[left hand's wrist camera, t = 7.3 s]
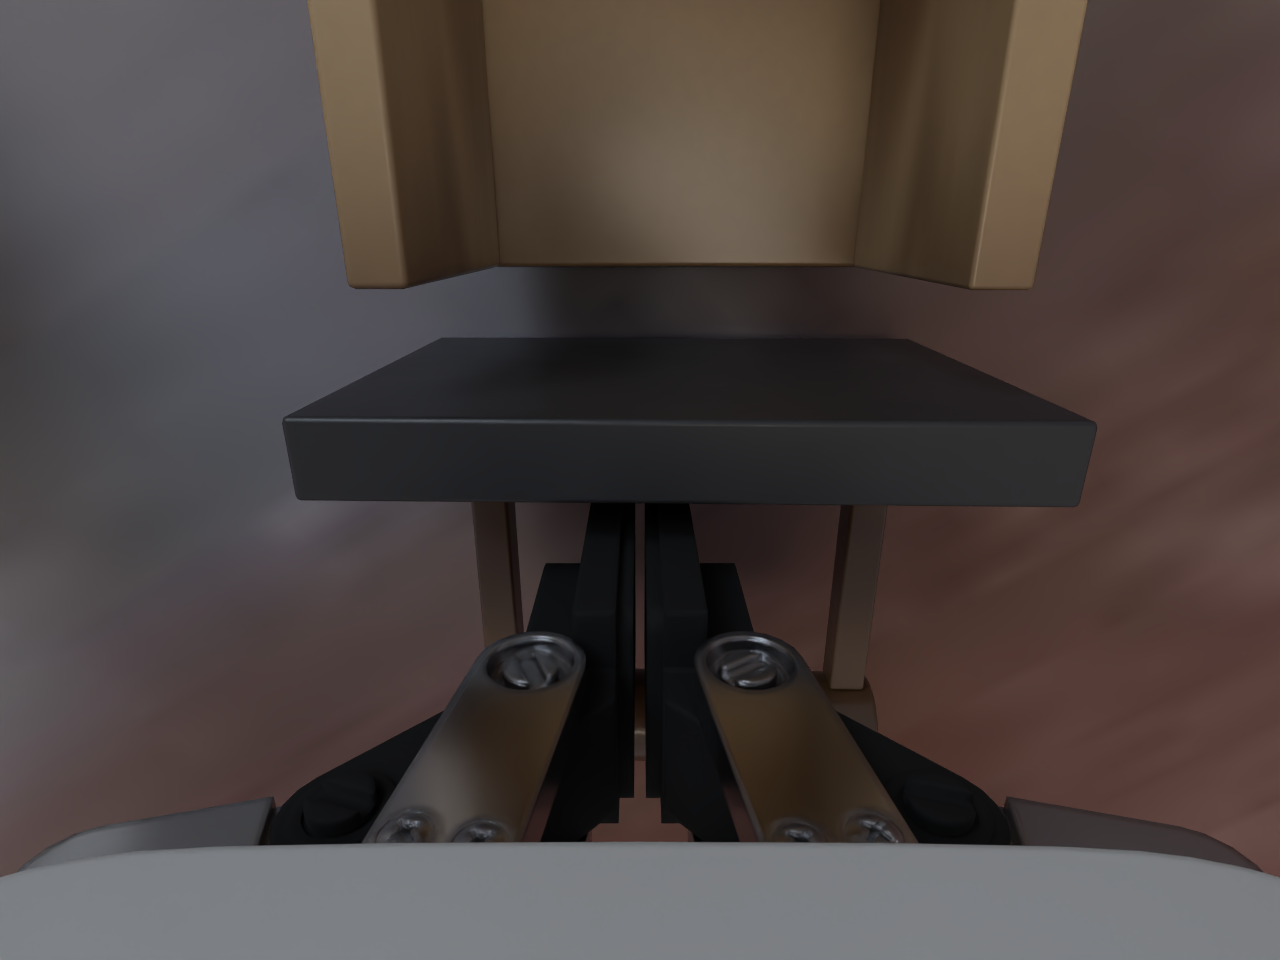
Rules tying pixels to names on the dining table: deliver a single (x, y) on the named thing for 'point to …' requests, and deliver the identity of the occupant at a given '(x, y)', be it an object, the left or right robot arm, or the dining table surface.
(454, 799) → the left robot arm
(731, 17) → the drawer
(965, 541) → the dining table surface
